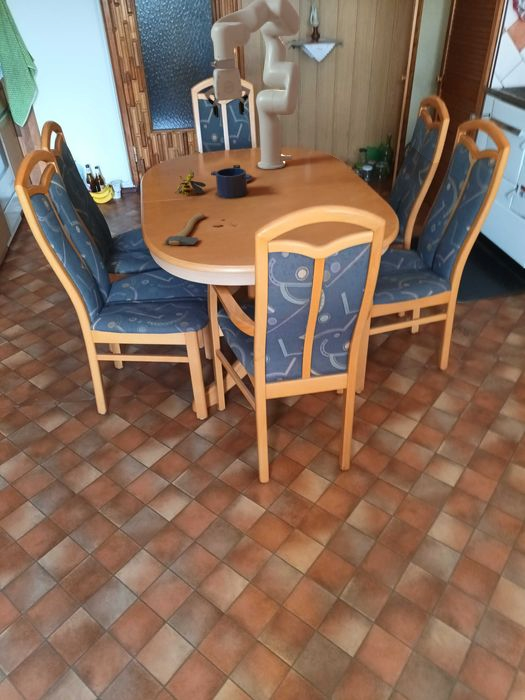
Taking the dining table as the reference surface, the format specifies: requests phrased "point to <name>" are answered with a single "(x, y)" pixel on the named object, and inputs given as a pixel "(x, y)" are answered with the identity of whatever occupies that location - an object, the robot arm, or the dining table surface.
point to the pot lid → (239, 167)
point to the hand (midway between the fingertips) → (229, 115)
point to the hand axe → (185, 233)
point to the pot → (231, 182)
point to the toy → (187, 188)
